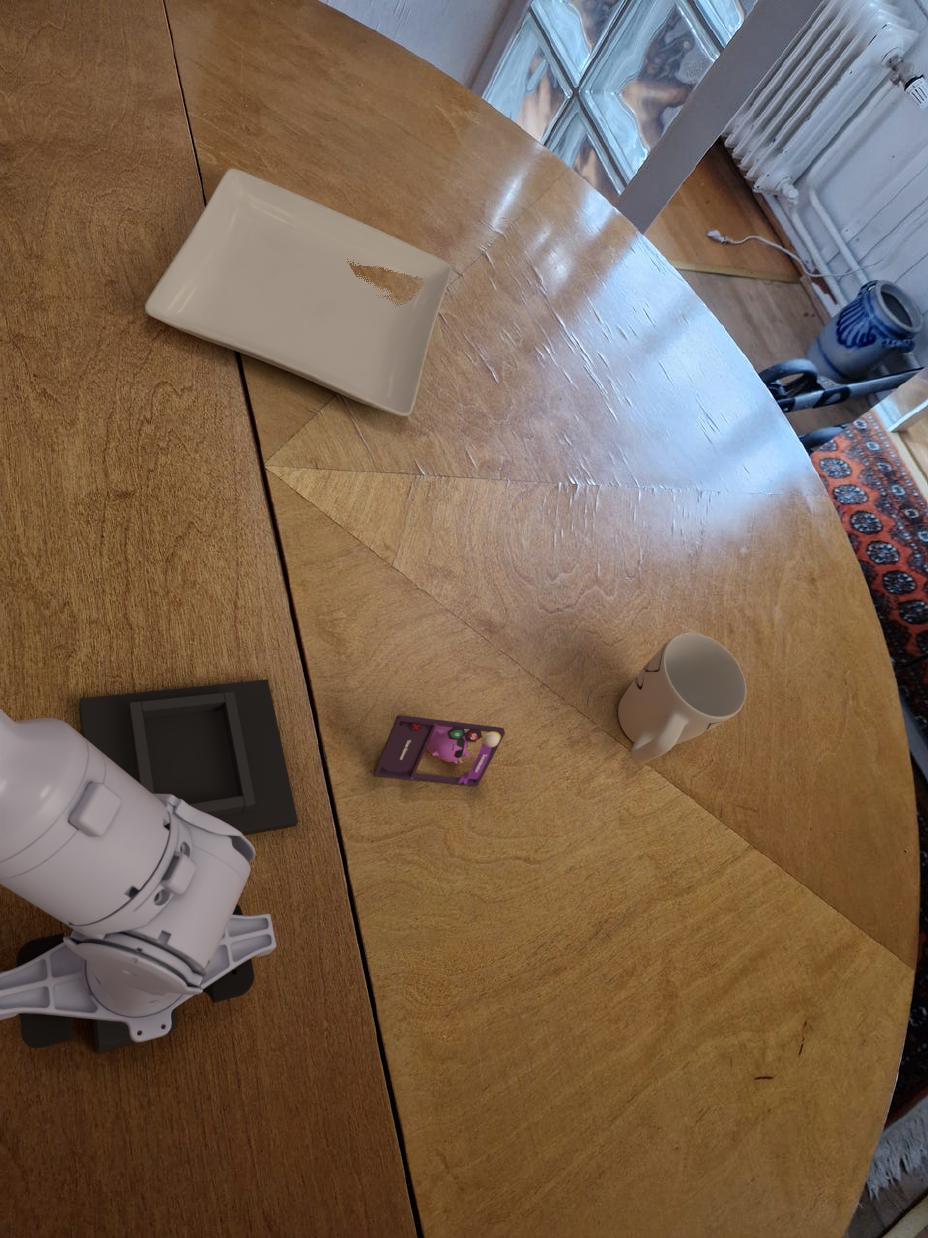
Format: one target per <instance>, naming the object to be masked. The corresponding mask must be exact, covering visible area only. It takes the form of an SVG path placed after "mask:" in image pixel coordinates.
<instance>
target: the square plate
mask: <svg viewBox="0 0 928 1238" xmlns="http://www.w3.org/2000/svg"><path fill="white" fill-rule="evenodd" d="M347 259H348V260H347ZM353 260H354V261H353ZM348 261H349V262H348ZM350 261H351V262H350ZM347 262H348V263H347ZM352 262H354V266H355V264H356V266H359V265H362V266H370V267H371V266H372V267H373V266H374V267H375V266H377V267H378V266H379V267H382V268H383V267H384V270H385V269H386V268H387V269H388V270H392V271H393V270H394V271H393V272H398V271H399V272H398V274H399V273H400V274H401V273H403V274H404V273H405V275H406V274H407V275H410V276H411V275H412V277H416V276H418V277H419V279H420V278H423V280H422V281H424V282H423V283H424V285H423V287H420V288H422V289H419V291H418V292H416V293H415V294H413V295H416V296H413V299H411V300H410V301H408V302H405V303H407V304H404V305H400V304H401V303H400V304H399V303H398V304H399V306H400V307H399V306H398V305H397V306H396V304H397V303H396V304H395V302H396V301H395V302H394V300H395V299H394V300H393V299H392V300H393V302H394V304H393V302H392V300H391V298H392V297H391V298H390V296H389V295H390V294H391V292H390V293H389V291H390V290H389V291H388V290H387V288H386V289H385V288H384V289H383V290H385V291H384V292H383V290H382V289H381V290H380V288H381V287H380V288H379V287H378V288H377V286H374V285H375V284H374V283H373V282H372V283H373V284H372V283H371V282H366V280H365V281H364V279H365V278H364V279H363V278H362V277H356V275H355V274H354V272H353V270H352V269H351V267H350V265H349V263H352ZM358 263H359V264H358ZM352 265H353V263H352ZM377 267H376V268H377ZM379 267H378V268H379ZM387 269H386V271H387ZM392 271H391V272H392ZM452 272H453V265H452V263H450V262H449V261H447V260H446V259H444V258H441V257H439V256H438V255H437V256H436V255H435V254H433V253H430V252H428V251H426V250H423V249H421V248H419V247H417V246H415V245H412V244H411V243H408V242H406V241H404V240H401V239H400V238H398V237H395V236H393V235H392V234H389V233H387V232H385V231H382V230H380V229H378V228H376V227H374V226H371V225H369V224H366V223H365V222H362V221H360V220H358V219H355V218H354V217H351V216H348V215H346V214H344V213H342V212H340V211H337V210H335V209H333V208H332V207H331V208H330V207H328V206H326V205H323V204H321V203H319V202H317V201H314V200H312V199H309V198H308V197H305V196H302V195H301V194H298V193H297V192H294V191H291V190H289V189H286V188H285V187H282V186H280V185H277V184H275V183H272V182H270V181H267V180H265V179H263V178H261V177H258V176H255V175H253V174H251V173H248V172H246V171H244V170H241V169H239V168H234V167H229V168H228V169H227V170H226V171H225V172H224V174H223V175H222V177H221V178H220V180H219V182H218V184H217V185H216V187H215V189H214V191H213V193H212V195H211V196H210V198H209V199H208V202H207V204H206V205H205V208H204V209H203V211H202V213H201V214H200V216H199V217H198V219H197V221H196V223H195V224H194V226H193V227H192V229H191V231H190V232H189V234H188V235H187V237H186V238H185V240H184V242H183V243H182V245H181V247H180V248H179V250H178V251H177V253H176V254H175V256H174V258H173V259H172V260H171V263H169V265H168V266H167V268H166V270H164V271H163V274H162V276H161V277H160V279H159V280H158V282H157V283H156V285H155V286H154V288H153V289H152V291H151V293H150V295H148V298H147V300H146V302H145V303H144V311H145V313H146V314H147V315H148V316H150V317H152V318H154V319H155V320H158V321H160V322H162V323H164V324H166V325H167V326H170V327H172V328H174V329H176V330H179V331H181V332H184V333H186V334H189V335H190V336H193V337H196V338H199V339H200V340H203V341H206V342H210V343H212V344H215V345H218V346H220V347H224V348H225V349H229V350H232V351H235V352H237V353H240V354H243V355H246V356H248V357H250V358H254V359H256V360H258V361H261V362H263V363H267V364H268V365H271V366H274V367H276V368H278V369H282V370H283V371H285V372H287V373H290V374H293V375H295V376H298V377H300V378H303V379H305V380H308V381H310V382H313V383H315V384H317V385H319V386H321V387H324V388H326V389H327V390H328V389H329V390H330V391H333V392H335V393H337V394H339V395H342V396H344V397H347V398H349V399H350V400H353V401H355V402H357V403H360V404H363V405H366V406H368V407H371V408H374V409H377V410H379V411H382V412H385V413H389V414H393V415H396V416H400V417H409V416H411V414H412V412H413V410H414V408H415V404H416V401H417V397H418V393H419V389H420V385H421V381H422V376H423V372H424V367H425V362H426V360H427V359H426V358H427V354H428V351H429V347H430V343H431V339H432V336H433V333H434V329H435V325H436V322H437V318H438V316H439V312H440V311H441V306H442V304H443V301H444V298H445V296H446V293H447V289H448V287H449V284H450V282H451V278H452ZM359 274H360V273H359ZM357 276H359V275H357ZM360 276H361V275H360ZM363 277H364V276H363ZM365 277H366V276H365ZM418 277H417V278H418ZM359 278H360V279H359ZM361 278H362V279H361ZM366 279H367V278H366ZM368 279H369V278H368ZM367 281H368V280H367ZM369 281H370V280H369ZM368 283H369V284H368ZM370 283H371V284H370ZM373 287H374V288H373ZM375 287H376V288H375ZM376 289H377V290H376ZM378 289H379V290H378ZM386 290H387V291H386ZM379 291H380V292H379ZM381 291H382V292H381ZM416 291H417V290H416ZM387 292H388V293H387ZM382 293H383V294H382ZM392 293H393V292H392ZM376 295H377V296H376ZM378 295H379V296H378ZM380 295H381V296H380ZM382 295H383V297H384V296H385V295H386V296H387V295H388V296H389V298H390V300H391V301H390V300H389V298H388V297H384V299H383V297H382ZM391 295H392V294H391ZM393 295H394V294H393ZM379 297H380V298H379ZM381 297H382V298H381ZM386 298H388V299H386ZM397 302H398V301H397ZM402 304H403V303H402ZM394 305H395V306H394ZM395 307H396V308H395Z"/></svg>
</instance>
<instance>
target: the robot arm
mask: <svg viewBox="0 0 928 1238" xmlns="http://www.w3.org/2000/svg"><path fill="white" fill-rule="evenodd" d="M256 855H257V852H256V849H255V847H254V846H253V844H252V842H251V841H249V839H248V838H247V837H246V836H245V835H243V834H242V833H241V832H240V831H238V830H237V829H235V828H234V827H232V826H230V825H229V824H227V823H225V822H223V821H222V820H220V819H218V818H216V817H213V816H211V815H209V814H207V813H204V812H202V811H199V810H197V809H195V808H193V807H192V806H190V805H188V804H187V803H186V802H184V801H183V800H182V799H178V798H176V797H175V796H174V795H171V794H152V793H150V792H149V791H148V790H147V789H146V788H144V787H143V786H142V785H141V784H140V783H138V782H137V781H136V780H135V779H134V778H132V777H131V776H130V775H129V774H128V773H126V772H125V771H124V770H123V769H121V768H120V767H119V766H118V765H117V764H115V763H114V762H113V761H112V760H111V759H109V758H108V757H107V756H106V755H105V754H103V753H102V752H101V751H100V750H98V749H97V748H96V747H95V746H94V745H93V744H91V743H90V742H89V741H88V740H87V739H85V738H84V737H83V735H82V733H79V731H77V730H76V729H75V728H73V727H72V726H71V725H70V724H69V723H67V722H66V721H64V720H61V719H57V718H53V717H38V718H30V719H23V720H18V721H17V720H16V721H14V720H13V719H12V718H11V717H10V716H9V715H8V714H6V712H4V710H2V709H1V708H0V885H1V886H3V888H6V889H7V890H8V891H11V892H12V893H14V894H16V895H17V896H19V897H20V898H22V899H23V900H25V901H27V902H29V903H30V904H32V905H33V906H34V907H37V908H38V909H40V910H41V911H43V912H45V913H47V914H48V915H49V916H52V917H53V918H55V919H56V920H58V921H59V922H61V923H62V924H64V925H66V926H67V927H69V928H71V929H72V932H71V934H70V935H67V936H65V933H64V932H61V933H56V934H51V935H47V936H41V937H36V938H33V939H29V940H28V941H27V942H25V943H24V944H23V945H22V946H21V947H20V948H19V950H18V951H17V954H16V956H15V966H16V967H15V968H12V969H10V970H6V971H2V972H0V1021H2V1020H7V1019H10V1018H13V1017H16V1016H17V1015H18V1014H19V1019H20V1020H19V1022H20V1033H21V1034H20V1035H21V1037H22V1040H23V1042H24V1043H25V1044H26V1046H28V1047H29V1048H30V1049H43V1048H48V1047H51V1046H54V1045H58V1044H59V1045H60V1044H63V1043H66V1042H71V1041H73V1040H74V1032H73V1024H74V1018H77V1019H79V1018H80V1019H89V1020H93V1019H98V1020H108V1021H118V1022H124V1023H125V1024H127V1025H128V1028H129V1034H130V1037H131V1039H132V1040H133V1041H134V1042H140V1043H143V1042H147V1041H150V1040H154V1039H157V1038H162V1037H165V1036H164V1035H166V1034H167V1033H168V1032H169V1030H170V1029H171V1024H172V1022H171V1012H172V1010H173V1009H174V1008H175V1009H176V1008H177V1007H178V1006H180V1005H181V1004H184V1002H186V1001H188V1000H189V999H191V998H192V997H194V996H195V995H200V994H202V993H204V994H207V996H208V997H209V998H210V1000H211V1001H212V1003H213V1004H216V1003H219V1002H223V1001H227V1000H231V999H234V998H238V997H242V996H244V995H245V994H246V993H248V991H250V989H251V988H252V986H253V985H254V981H255V972H254V965H253V960H252V958H259V957H264V956H269V955H270V954H271V953H272V952H273V951H274V950H275V949H276V948H277V941H276V937H275V931H274V927H273V926H274V925H273V922H272V916H271V913H270V912H269V913H261V914H257V915H244V914H243V911H242V910H243V909H242V908H241V907H240V905H239V904H238V902H239V900H240V898H241V895H242V893H243V891H244V888H245V886H246V885H247V882H248V879H249V877H250V875H251V872H252V868H251V867H252V866H251V865H250V863H251V862H253V861H254V860H255V859H256ZM161 1026H164V1029H161ZM138 1032H140V1033H141V1035H140V1036H138V1035H137V1033H138ZM166 1036H167V1035H166Z"/></svg>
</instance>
